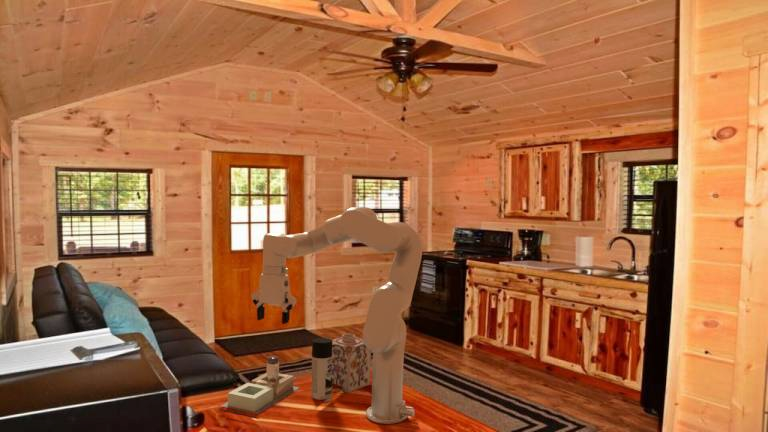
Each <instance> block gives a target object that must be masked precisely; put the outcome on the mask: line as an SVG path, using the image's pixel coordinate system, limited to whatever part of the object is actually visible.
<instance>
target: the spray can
mask: <svg viewBox="0 0 768 432" xmlns="http://www.w3.org/2000/svg"><path fill="white" fill-rule="evenodd" d="M332 341H333V340H332V339H331V338H327V337H318V338H317V337H316V338H314V339H312V341H311V397H312V398H313V399H315V400H318V401H320V400H321V401H322V400H323V401H322V402H321V404H327V403H329V402H330V401H332V398H333V395H332V394H333V390H332V389H333V383H332Z"/></svg>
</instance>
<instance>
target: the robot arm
mask: <svg viewBox="0 0 768 432" xmlns="http://www.w3.org/2000/svg"><path fill="white" fill-rule="evenodd" d="M262 240H263V242H262V243H263V245H262V273H261V274H260V277H259V283H258V290H256V291H254V292H253V293H251V294H250V297H251V300H252V303H253V304H254V305H255V308H256V320H257V321H261V320H263V319H265V305H269V306H278V307H281V310H283V311H282V312H281V324H283V325H285V324H288V323H290V311H292V309H293V308H295V305H296V303H297V301H298V299H297V298H296V297H295V296H293V295H292V294H291V286H290V285H291V284H290V280H289V279H290V278H289V275H288V274H287V273H289V270H290V269H289V268H287V259H295V258H299V257H304V256H308V255H310V254H315V253H317V252H320V251H322V250H325V249H328V248H330V247H335V246H337V245H340V244H342V243H345V242H349V241H351V240H356V241H357V242H359V243H361V244H363V245H365V246H367V247H369V248H372V249H374V250H376V251H378V252H381V253H384V254H388V253H393V252H394V256H393V260H392V261H391V265H390V267H389V272H388V275H387V279H386V282H385V284H384V285H381V286H380V287H379V288H377V289H376V290H375V291H374V293H373V295H372V297H371V298H370V302H369V305H368V310H367V313H366V317H365V321H364V325H363V330H362V339H363V342H364V344H365V346H366V348H367V349H368V350H369V351H371V353H372V366H371V370H372V371H371V403H370V404H371V406H369V407H368V408H367V409H366V411H365V414H366V415H365V416H366V417H367V419H369V420H370V421H371V422H374V423H376V424H377V423H378V424H384V425H389V424H391V425H393V424H397V423H401V422H403V421H405V420H406V419H407V417H412V418H413V417H414V416H415V414H416V413H415V409H414V407H412V406H407V405H406V400H404V399H403V386H404V385H403V381H404V364H405V363H404V361H405V360H404V357H405V348H406V341H407V326H406V323H405V321H404V319H403V318H402V317H401V314H402V313H404V312H405V311H406V310H407V309H408V308H409V307H410V306H411V303H412V301H413V300H412V299H413V294H414V290H415V286H416V282H417V279H418V273H419V270H420V265H421V262H422V256H423V245H422V241H421V239H420V236H419V234H418V232H417V231H416V230H415V229H414V228H413V227H412V226H410V225H409V224H408V223H405V222H402V221H401V222H400V221H394V222H388V223H387V222H384V221H382V220H379V219H378V217H377V214H376V212H375V210H374V209H372V208H369V207H366V206H361V207H360V206H358V207H357V206H356V207H350V208H347V209H346V210H344V212H343V213H342V214H339V215H337V216H333V217H331V218H328V219H326V220H325V221H324V223H323V225H320V226H319V227H316V228H314V229H311V230H308V231H305V232H302V233H294V234H287V235H286V234H284V233H278V232H270V233H266V234H264V236H263V239H262Z"/></svg>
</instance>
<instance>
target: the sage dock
mask: <svg viewBox="0 0 768 432" xmlns="http://www.w3.org/2000/svg"><path fill="white" fill-rule="evenodd" d="M272 400H273V388H272V387H267V386H262V385H257V384H252V383H251V382H246V383H245V384H242V385H241V386H238V387H237V388H235V389H232V390H231V391H229V392H227V402H228V406H231V407H236V408H240V409H245V410H249V411H254V412H255V411H256V410H258V409H260V408H261V407H263V406H264V405H266V404H268V403H269V402H271V401H272Z"/></svg>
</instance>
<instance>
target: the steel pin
mask: <svg viewBox="0 0 768 432" xmlns="http://www.w3.org/2000/svg"><path fill="white" fill-rule="evenodd" d="M266 373H267V381H269V382H274V383H275V382H277V381H279V373H280V357H279V356H278V355H270V356H267V357H266Z"/></svg>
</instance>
